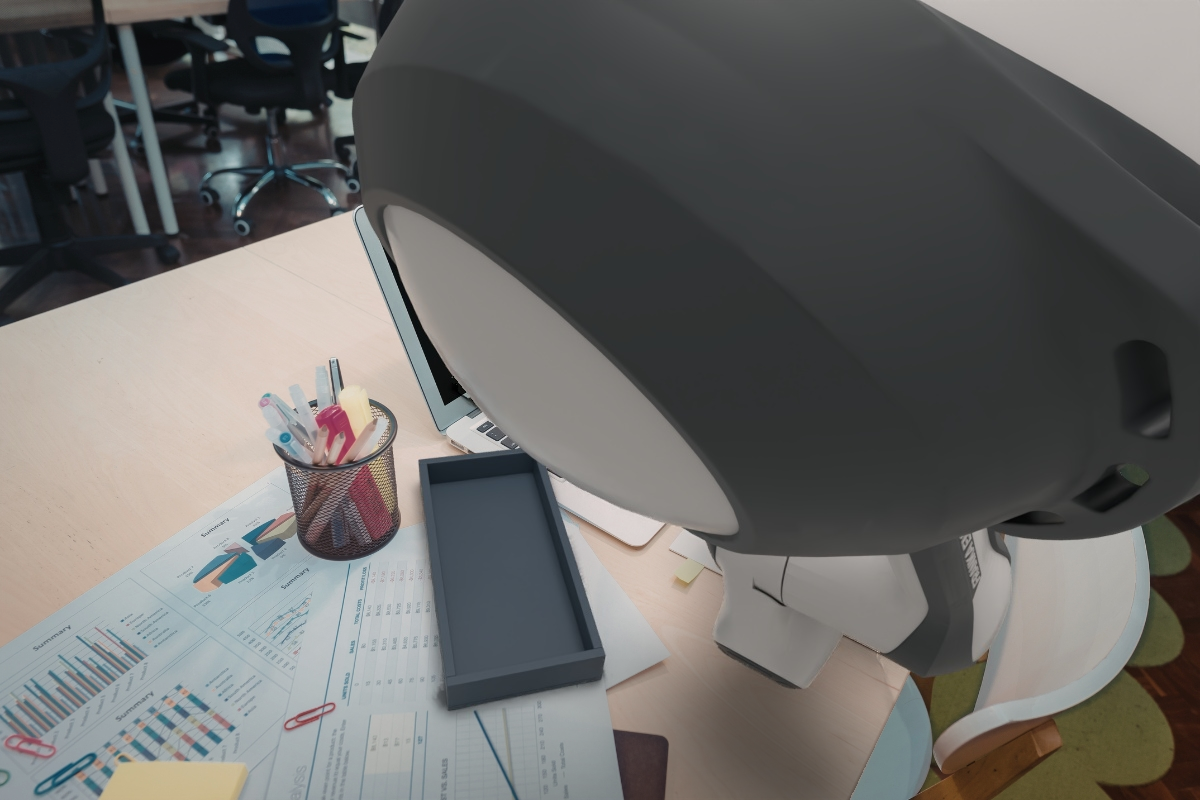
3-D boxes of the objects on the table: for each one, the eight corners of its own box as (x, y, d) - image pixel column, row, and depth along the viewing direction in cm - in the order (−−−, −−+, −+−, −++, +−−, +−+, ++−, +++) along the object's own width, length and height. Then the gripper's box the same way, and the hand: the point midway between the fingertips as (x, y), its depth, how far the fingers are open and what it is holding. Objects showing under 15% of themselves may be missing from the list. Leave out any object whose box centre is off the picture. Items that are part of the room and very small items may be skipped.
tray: (601, 679, 61) (605, 655, 58) (448, 711, 57) (446, 686, 55) (538, 469, 80) (539, 445, 77) (419, 483, 76) (418, 459, 74)
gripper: (991, 549, 53) (1050, 403, 58) (739, 414, 58) (813, 290, 63) (954, 569, 58) (1011, 435, 63) (727, 444, 63) (796, 329, 68)
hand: (911, 362), depth 63 cm, fingers open, 8 cm apart
